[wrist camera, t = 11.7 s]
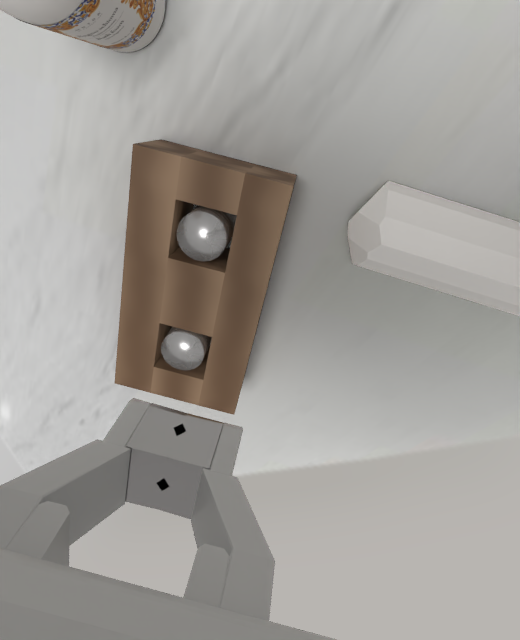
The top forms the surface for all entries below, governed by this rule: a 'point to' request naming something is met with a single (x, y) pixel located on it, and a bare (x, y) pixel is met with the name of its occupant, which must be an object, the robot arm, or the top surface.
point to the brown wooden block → (196, 269)
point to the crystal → (439, 246)
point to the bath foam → (94, 20)
